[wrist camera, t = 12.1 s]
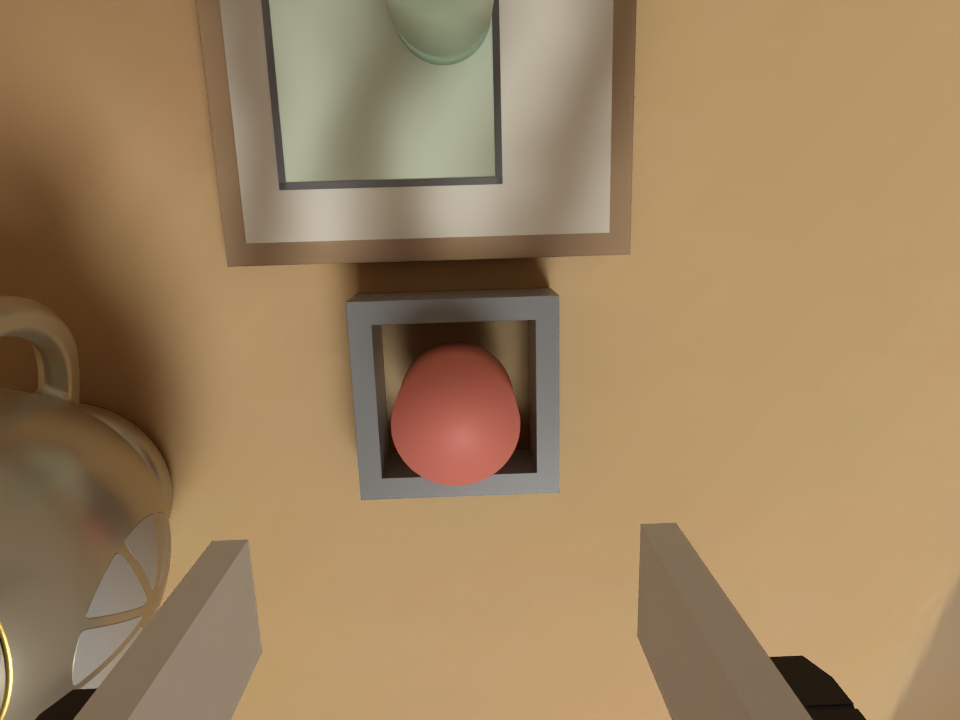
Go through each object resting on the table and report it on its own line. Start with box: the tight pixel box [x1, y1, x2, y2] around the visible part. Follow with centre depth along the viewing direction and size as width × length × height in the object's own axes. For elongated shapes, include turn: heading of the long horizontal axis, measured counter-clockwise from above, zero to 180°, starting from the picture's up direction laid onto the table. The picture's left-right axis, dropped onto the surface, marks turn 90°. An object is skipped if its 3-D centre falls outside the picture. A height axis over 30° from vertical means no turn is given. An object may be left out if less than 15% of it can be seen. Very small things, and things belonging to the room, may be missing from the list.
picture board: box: [196, 0, 636, 267], centre depth 27 cm, size 18×16×1 cm
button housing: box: [346, 288, 559, 500], centre depth 29 cm, size 9×9×3 cm
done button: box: [391, 342, 520, 486], centre depth 26 cm, size 5×5×4 cm
